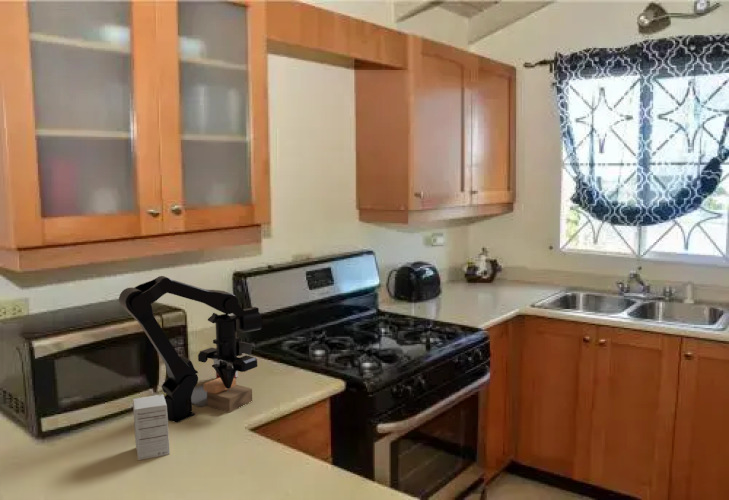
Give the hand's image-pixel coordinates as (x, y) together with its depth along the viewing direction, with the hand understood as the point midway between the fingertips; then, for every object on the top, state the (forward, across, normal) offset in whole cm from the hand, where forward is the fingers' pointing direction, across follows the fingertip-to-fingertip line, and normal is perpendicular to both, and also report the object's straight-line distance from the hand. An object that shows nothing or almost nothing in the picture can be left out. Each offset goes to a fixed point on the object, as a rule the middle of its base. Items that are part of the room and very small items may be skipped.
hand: (228, 388), depth 172 cm
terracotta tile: (+1, +4, 0) cm, 4 cm away
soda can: (+5, +15, -14) cm, 21 cm away
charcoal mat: (+5, +11, 0) cm, 12 cm away
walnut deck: (+5, 0, 0) cm, 5 cm away
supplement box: (+5, -6, +31) cm, 32 cm away
